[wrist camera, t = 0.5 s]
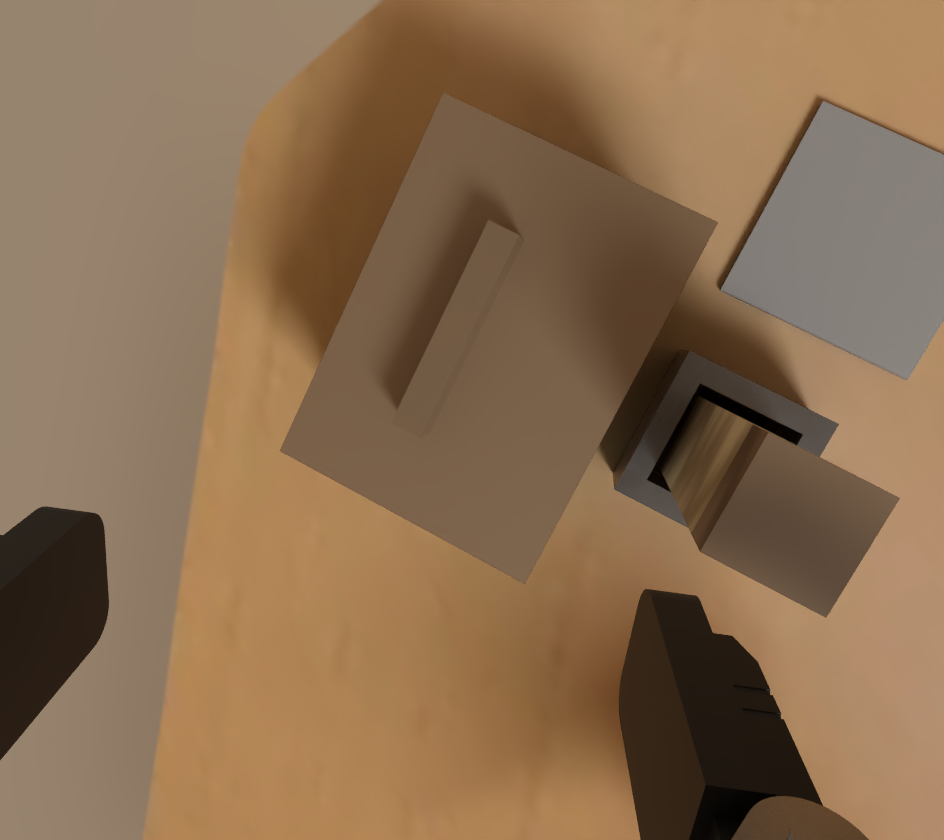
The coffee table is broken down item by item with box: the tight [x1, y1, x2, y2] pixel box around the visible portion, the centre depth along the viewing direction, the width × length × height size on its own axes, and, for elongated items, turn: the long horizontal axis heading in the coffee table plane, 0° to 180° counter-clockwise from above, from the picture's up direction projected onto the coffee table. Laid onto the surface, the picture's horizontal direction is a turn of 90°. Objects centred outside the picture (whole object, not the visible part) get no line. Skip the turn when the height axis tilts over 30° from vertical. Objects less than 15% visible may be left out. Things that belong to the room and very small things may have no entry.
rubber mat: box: [720, 101, 944, 380], centre depth 33 cm, size 9×9×1 cm
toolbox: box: [280, 93, 718, 584], centre depth 31 cm, size 15×11×10 cm
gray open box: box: [613, 350, 839, 527], centre depth 33 cm, size 7×7×4 cm
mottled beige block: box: [657, 394, 900, 617], centre depth 27 cm, size 4×4×16 cm
